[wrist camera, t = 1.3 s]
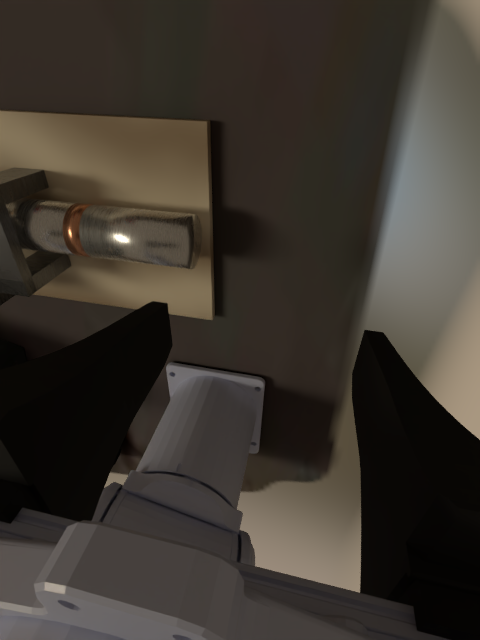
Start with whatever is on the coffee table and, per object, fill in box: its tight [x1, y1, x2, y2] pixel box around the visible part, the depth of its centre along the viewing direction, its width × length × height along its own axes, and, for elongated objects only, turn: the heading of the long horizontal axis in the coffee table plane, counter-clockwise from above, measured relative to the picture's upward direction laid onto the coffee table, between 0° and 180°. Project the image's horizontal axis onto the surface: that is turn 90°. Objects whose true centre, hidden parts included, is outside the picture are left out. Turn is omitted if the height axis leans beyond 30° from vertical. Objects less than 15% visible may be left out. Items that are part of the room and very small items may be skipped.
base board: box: [0, 110, 215, 320], centre depth 22 cm, size 12×22×1 cm, turn 89°
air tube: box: [6, 198, 202, 269], centre depth 20 cm, size 3×12×3 cm, turn 89°
